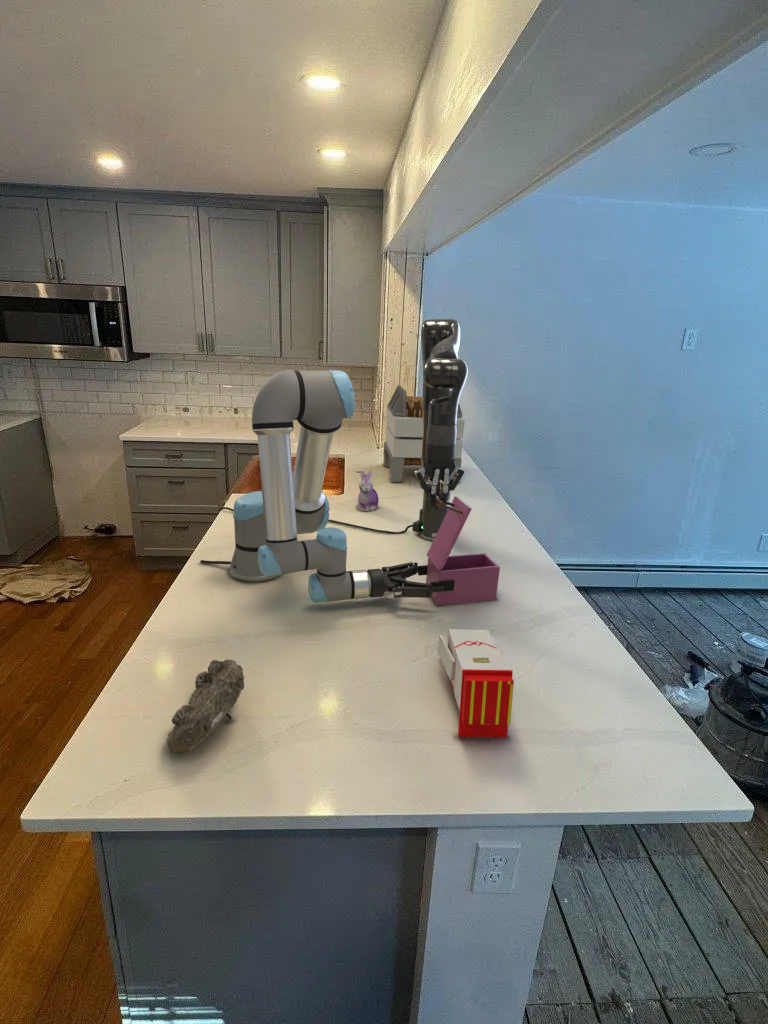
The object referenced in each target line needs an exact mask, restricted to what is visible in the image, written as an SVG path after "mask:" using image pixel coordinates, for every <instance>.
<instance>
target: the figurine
mask: <svg viewBox="0 0 768 1024" xmlns="http://www.w3.org/2000/svg"><path fill="white" fill-rule="evenodd" d="M372 476H373V470H369V471H368V472H367V474H366V473H365V472H364V471H363V470H361V471H360V482H359V484H358V488H359V490H360V491H359V493H358V497H357V501H358V503H357V508H358V510H359V511H362V512H369V511H374V510H376V509H378V507H379V501H380V499H379V495H378V492H377V491H376V490H375V488H374V483H373V481H372Z"/></svg>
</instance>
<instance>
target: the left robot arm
mask: <svg viewBox="0 0 768 1024" xmlns="http://www.w3.org/2000/svg"><path fill="white" fill-rule="evenodd" d="M263 383H264V384H263V385H262V386H261V387H260V389H259V391H258V393H257V394H256V397H255V400H254V403H253V406H252V412H251V428H252V432H253V433H254V434H255V435H256V437H257V447H258V448H257V449H258V459H259V469H260V470H259V472H260V483H261V490H256V491H252V492H247V493H245V494H242V495H241V496H239V497H238V498H237V499H235V501H234V504H233V509H234V512H233V513H232V514H233V515H232V517H233V521H234V522H233V524H234V526H233V527H234V545H235V548H234V551H233V555H232V557H231V561H228V560H227V561H226V560H204V559H200V564H205V565H229V573H230V575H231V577H233V579H235V580H238V581H241V582H246V583H260V582H266V581H270V580H273V579H276V578H277V577H279V576H282V575H286V574H292V573H298V572H306V571H311V570H312V571H313V570H316V572H314V573H310V574H309V575H308V581H307V583H308V584H307V586H308V595H309V599H310V601H311V602H312V603H330V602H339V601H347V600H359V599H361V600H362V599H367V598H368V597H369V598H370V599H371V598H372V599H373V598H381V597H383V596H384V595H385V593H392V594H393V598H395V599H399V598H420V599H421V598H422V599H432V598H431V596H432V593H433V592H442V591H453V590H454V583H455V581H454V580H449V581H438V582H431V584H426V582H419V581H411V580H407V579H408V578H411V577H413V576H415V575H417V576H421V577H422V576H427V564H424V565H419V564H418V562H415V561H414V562H412V561H410V562H405V563H400V564H397V565H391V566H382V567H381V568H369V569H367V570H366V569H357V570H355V569H354V570H347V553H348V539H347V533H346V532H345V530H343V529H341V528H338V527H333V526H331V527H330V526H329V527H327V525H328V523H329V521H328V520H330V502H329V499H328V497H327V495H326V493H324V491H323V484H324V480H325V476H326V472H327V466H328V462H329V458H330V452H331V446H332V443H333V438H334V434H335V433H336V432H338V431H340V429H341V428H342V425H343V420H344V419H346V420H347V419H349V418H352V417H353V416H354V413H355V410H356V409H355V407H356V400H355V392H354V388H353V384H352V381H351V378H350V376H349V375H348V373H346V372H345V371H343V370H332V369H327V370H299V369H297V370H296V369H295V370H293V369H285V370H281V371H279V372H276V373H274V374H273V375H272V376H270V377H269V378H268V379H267V380H266V381H265V382H263ZM294 421H296V422H297V424H298V425H299V426H300V428H299V435H298V440H297V447H296V454H295V460H294V467H293V461H292V460H293V459H292V447H291V445H292V444H291V433H292V431H293V430H294ZM316 532H317V533H316ZM314 533H316V537H315V538H312V539H304V540H298V535H304V534H306V535H307V534H314Z"/></svg>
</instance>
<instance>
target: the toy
mask: <svg viewBox="0 0 768 1024" xmlns="http://www.w3.org/2000/svg"><path fill="white" fill-rule="evenodd" d="M446 640H447V643H446V641H445V639H444V636H443V635H442V634H439V637H438V646H437V656H438V657H439V659H440V661H441V663H442V666H443V668H444V670H445V672H446V674H447V677H448V679H449V681H450V684H451V687H452V690H453V693H454V697H455V701H456V705H457V708H458V711H459V714H458V715H459V716H458V730H457V731H458V732H457V737H458V738H508V731H509V726H510V725H511V717H512V707H513V697H514V696H513V695H514V684H515V680H514V679H513V673H514V671H513V670H512V669H508V667H507V665H506V662H505V661H504V659H503V658H502V655H501V653H500V651H499V649H498V647H497V643H496V639H495V637H494V635H493V634H491V632H490V631H489V629H467V628H466V629H465V628H463V629H461V628H460V629H459V628H448V630H447V639H446Z"/></svg>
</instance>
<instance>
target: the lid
mask: <svg viewBox="0 0 768 1024" xmlns="http://www.w3.org/2000/svg"><path fill="white" fill-rule="evenodd" d="M435 504H436V505H437V506H438V507H439V508H440V509H444V508H447V509H448V511H447V513H446V515H445V518H444V520H443V522H442V524H441V526H440V528H439V530H438V532H437V534H436V536H435V538H434V540H433V541H432V542H431V545H430V546H429V549H428V551H427V553H426V556H427V558H429V559H430V560H431V561H432V562H433V564H434V565H435V566H436V567H437V568H438V569H439V570H442V569H443V567H444V565H445V563H446V561H447V558H448V556H450V554H451V552H452V550H453V548H454V546H455V544H456V543H457V540H458V538H459V536H460V534H461V531H462V530H463V528H464V526H465V524H466V522H467V520H468V517H469V516H470V513H471V512H472V507H470V505H468V504H467V503H466V502H465V501H463V500H462V499H461V498H460V497H458V496H456V495H454V497H453V499H452V501H450V502H448V501H446V504H448V505H449V506H447V505H446V504H445V503H444V502H443V501H442V500H441V499H440V498H439V497H438V496H436V502H435Z"/></svg>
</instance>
